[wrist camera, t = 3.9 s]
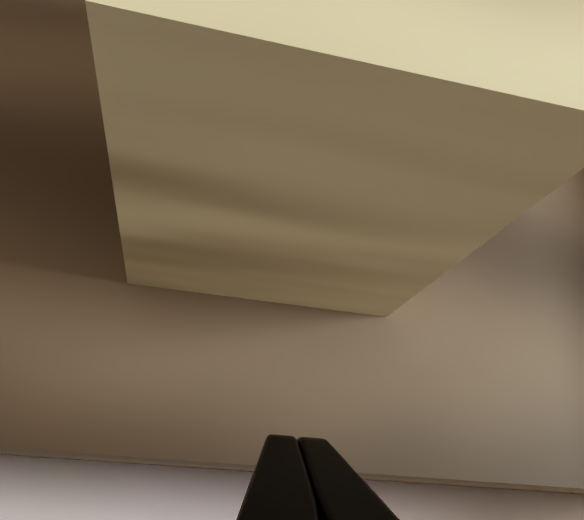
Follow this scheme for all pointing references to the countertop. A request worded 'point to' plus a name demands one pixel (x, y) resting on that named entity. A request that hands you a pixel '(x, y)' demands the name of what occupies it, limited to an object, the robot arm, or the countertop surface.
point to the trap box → (263, 323)
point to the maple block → (331, 138)
